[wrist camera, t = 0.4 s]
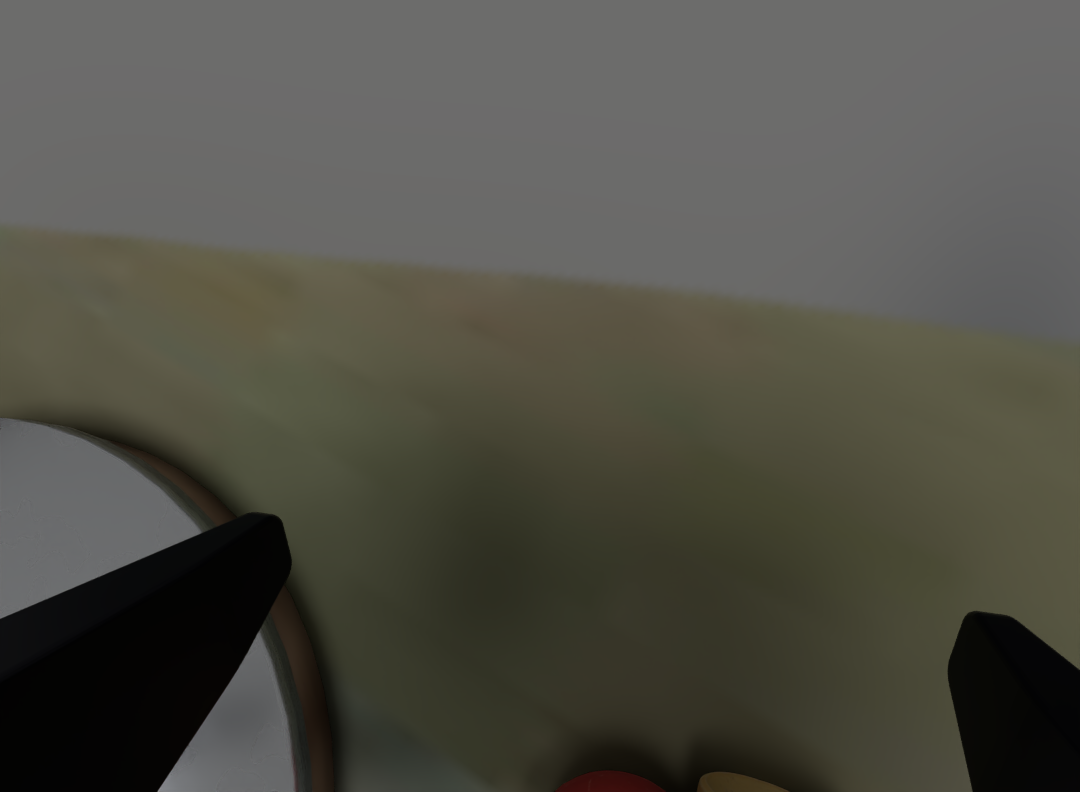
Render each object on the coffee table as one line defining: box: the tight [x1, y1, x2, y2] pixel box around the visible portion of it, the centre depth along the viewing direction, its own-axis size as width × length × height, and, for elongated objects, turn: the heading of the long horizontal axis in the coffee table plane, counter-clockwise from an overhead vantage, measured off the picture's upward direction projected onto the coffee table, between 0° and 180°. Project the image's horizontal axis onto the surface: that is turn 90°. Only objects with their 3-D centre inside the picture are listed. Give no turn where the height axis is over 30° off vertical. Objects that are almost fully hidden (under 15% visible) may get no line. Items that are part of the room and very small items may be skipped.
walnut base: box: [104, 439, 334, 792], centre depth 26 cm, size 28×28×2 cm
